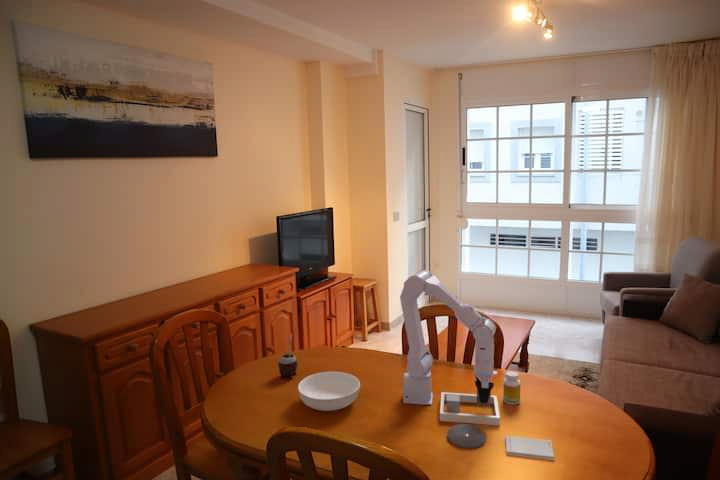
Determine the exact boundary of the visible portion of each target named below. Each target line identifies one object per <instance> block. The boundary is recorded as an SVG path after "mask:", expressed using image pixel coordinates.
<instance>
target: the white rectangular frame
mask: <svg viewBox="0 0 720 480" xmlns="http://www.w3.org/2000/svg"><path fill="white" fill-rule="evenodd" d="M447 394H448V395H460V403H471V404H473V403H474V404H477V393H476V394H473V393H461V392H460V393H459V392H458V393H457V392H444V391H441V395H440V405H439V406H440V407H439V408H440V409H439V422H450V423H452V422H453V423H461V424H472V425H473V424H475V425H476V424H477V425H479V424H480V425H487V426H488V425H489V426H501V416H500V410H499V402H498V397H497V396H498V395H491V397H490V405H493V410H494V415H488V414H486V415H485V414H475V413H462V412H461V413H449V412H447V411H444V410H445V402H447Z"/></svg>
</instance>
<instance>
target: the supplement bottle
mask: <svg viewBox="0 0 720 480" xmlns="http://www.w3.org/2000/svg"><path fill="white" fill-rule="evenodd" d="M502 385H503V389H502V390H503V392H502V395H503V396H502V400H503V402H504V403H506V404H508V405H512V406H513V405H515V406H516V405H518V404H520V403H521V402H520V401H521V381H520V379H519V373H518V372H517V371H511V370H510V371H509V370H508V371H507V372H506V373H505V378H504V379H503V384H502Z"/></svg>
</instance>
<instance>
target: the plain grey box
mask: <svg viewBox="0 0 720 480" xmlns="http://www.w3.org/2000/svg"><path fill="white" fill-rule="evenodd" d="M460 403H461V402H460V395H448V394H447V401H446V412H449V413H460V409H461V407H460Z"/></svg>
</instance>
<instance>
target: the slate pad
mask: <svg viewBox="0 0 720 480" xmlns="http://www.w3.org/2000/svg"><path fill="white" fill-rule="evenodd" d="M446 436H447V440H448V441H449V442H450V443H451V444H452V445H454V446H456V447H457V448H463V449H472V450H473V449H476V448H481V447H482V446H484V445H485V444H486V442H487V435H486V433H485V431H484V430H483V429H481V428H480V427H478V426H475V425H473V424H469V423H461V424H455V425H452V426H451V427H449V429H447V435H446Z"/></svg>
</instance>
